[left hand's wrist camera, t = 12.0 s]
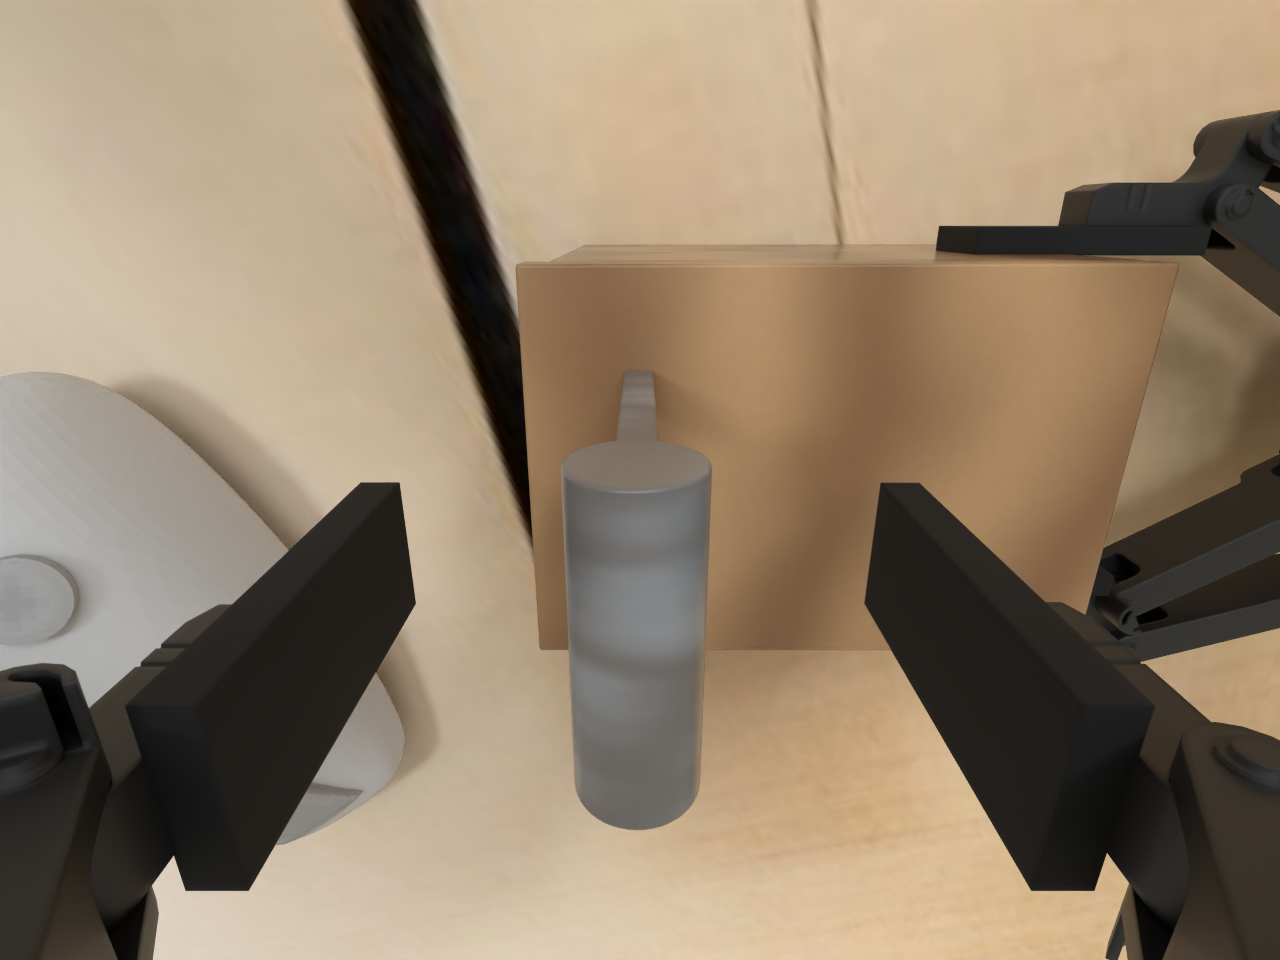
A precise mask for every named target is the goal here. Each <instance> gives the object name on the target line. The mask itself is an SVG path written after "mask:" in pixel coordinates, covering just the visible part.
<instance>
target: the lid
mask: <svg viewBox="0 0 1280 960" xmlns="http://www.w3.org/2000/svg"><path fill="white" fill-rule="evenodd" d="M1178 267H1179V265H1178V264H1176V263H1168V262H1156V261H869V262H523V263H520V264H517V265H516V281H517V297H518V313H519V329H520V345H521V360H522V376H523V392H524V408H525V423H526V439H527V455H528V471H529V486H530V502H531V518H532V534H533V549H534V565H535V581H536V597H537V613H538V628H539V644H540V649H541V650H569V665H570V686H571V708H572V730H573V752H574V774H575V787H576V791H577V795H578V797H579V799H580V801H581V802H582V804H583V805H584V807H585V808H586V809H587V810H588V811H589V812H590V813H591V814H592V815H593V816H595V817H596V818H597V819H599V820H601V821H602V822H604V823H606V824H609V825H611V826H614V827H618V828H622V829H628V830H646V829H652V828H657V827H660V826H663V825H666V824H668V823H670V822H672V821H674V820H676V819H677V818H679V817H680V816H681V815H683V814H684V813H685V812H686V811H687V810H688V809H689V807H690V806H691V805H692V803H693V802H694V800H695V798H696V796H697V794H698V791H699V786H700V771H701V745H702V719H703V693H704V668H705V650H891V649H890V647H889V645H888V644H887V642H886V640H885V639H884V637H883V635H882V633H881V632H880V630H879V628H878V626H877V625H876V623H875V621H874V620H873V618H872V616H871V614H870V613H869V611H868V609H867V608H866V606H865V604H864V601H865V594H866V586H867V579H868V572H869V564H870V557H871V549H872V542H873V535H874V527H875V520H876V512H877V505H878V497H879V490H880V483H920V484H921V485H922V486H923V487H924V488H925V489H927V490H928V491H929V492H930V493H931V494H932V495H933V496H934V497H935V498H936V499H937V500H938V501H939V502H940V503H941V504H942V505H943V506H944V507H946V508H947V509H948V510H949V511H950V512H951V513H952V514H953V515H954V516H955V517H956V518H957V519H958V520H959V521H960V522H961V523H962V524H964V525H965V526H966V527H967V528H968V529H969V530H970V531H971V532H972V533H973V534H974V535H975V536H976V537H977V538H978V539H979V540H980V541H982V542H983V543H984V544H985V545H986V546H987V547H988V548H989V549H990V550H991V551H992V552H993V553H994V554H995V555H996V556H997V557H998V558H999V559H1001V560H1002V561H1003V562H1004V563H1005V564H1006V565H1007V566H1008V567H1009V568H1010V569H1011V570H1012V571H1013V572H1014V573H1015V574H1016V575H1017V576H1019V577H1020V578H1021V579H1022V580H1023V581H1024V582H1025V583H1026V584H1027V585H1028V586H1029V587H1030V588H1031V589H1032V590H1033V591H1034V592H1035V593H1037V594H1038V595H1039V596H1040V597H1041V598H1042V599H1043V600H1044V601H1045V602H1063V603H1064V604H1066V605H1068V606H1070V607H1072V608H1074V609H1076V610H1077V611H1079V612H1081V613H1083V614H1085V615H1086V611H1087V607H1088V604H1089V600H1090V596H1091V592H1092V589H1093V585H1094V581H1095V578H1096V574H1097V570H1098V566H1099V563H1100V559H1101V555H1102V551H1103V548H1104V544H1105V540H1106V536H1107V533H1108V529H1109V525H1110V521H1111V518H1112V514H1113V510H1114V507H1115V503H1116V499H1117V495H1118V492H1119V488H1120V484H1121V480H1122V477H1123V473H1124V469H1125V465H1126V462H1127V458H1128V454H1129V451H1130V447H1131V443H1132V439H1133V436H1134V432H1135V428H1136V424H1137V421H1138V417H1139V413H1140V409H1141V406H1142V402H1143V398H1144V394H1145V391H1146V387H1147V383H1148V380H1149V376H1150V372H1151V368H1152V365H1153V361H1154V357H1155V353H1156V350H1157V346H1158V342H1159V338H1160V335H1161V331H1162V327H1163V323H1164V320H1165V316H1166V312H1167V309H1168V305H1169V301H1170V297H1171V294H1172V290H1173V286H1174V282H1175V279H1176V275H1177V271H1178Z"/></svg>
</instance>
